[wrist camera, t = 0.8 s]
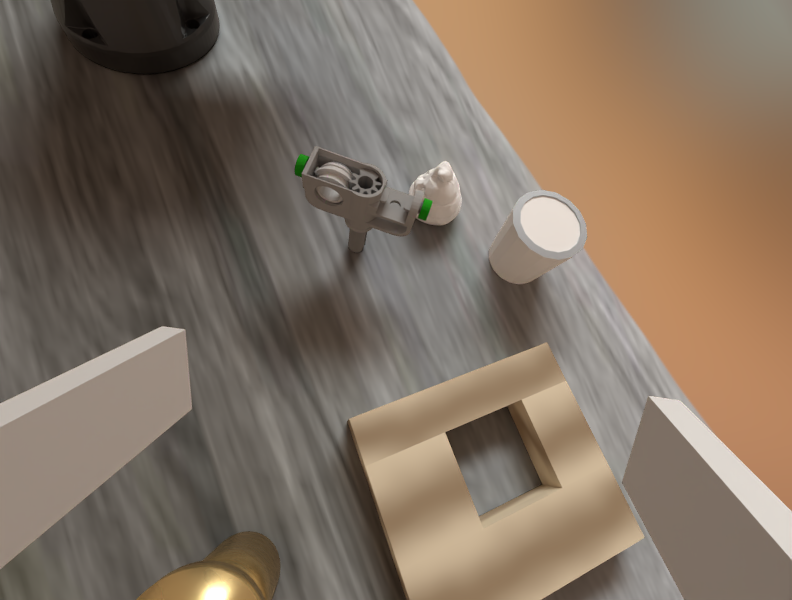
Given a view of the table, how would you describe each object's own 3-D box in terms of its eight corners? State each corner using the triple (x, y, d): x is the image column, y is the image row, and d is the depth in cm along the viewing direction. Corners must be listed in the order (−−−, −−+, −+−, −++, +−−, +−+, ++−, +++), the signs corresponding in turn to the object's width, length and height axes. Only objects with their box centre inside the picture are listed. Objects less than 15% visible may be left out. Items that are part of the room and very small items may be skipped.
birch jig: (347, 421, 32) (349, 418, 29) (530, 350, 37) (546, 342, 34) (421, 643, 28) (431, 665, 25) (617, 529, 32) (644, 537, 30)
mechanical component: (402, 275, 37) (427, 219, 28) (299, 240, 37) (289, 170, 28) (410, 249, 38) (437, 187, 29) (310, 214, 38) (305, 140, 29)
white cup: (538, 229, 42) (577, 190, 35) (552, 289, 40) (596, 259, 33) (477, 228, 41) (506, 187, 34) (488, 290, 38) (521, 259, 32)
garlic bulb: (426, 137, 36) (481, 155, 36) (412, 178, 42) (461, 194, 42) (411, 183, 34) (471, 202, 34) (399, 220, 39) (451, 237, 40)
